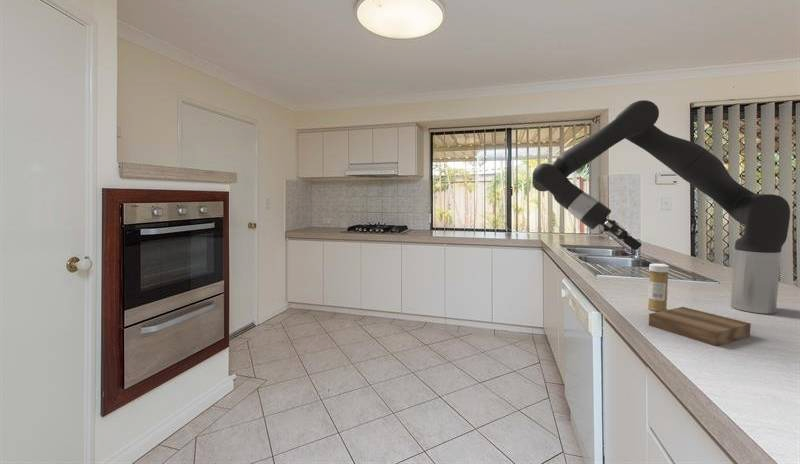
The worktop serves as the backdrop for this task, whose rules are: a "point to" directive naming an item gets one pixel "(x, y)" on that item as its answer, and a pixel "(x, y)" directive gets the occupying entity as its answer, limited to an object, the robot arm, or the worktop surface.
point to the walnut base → (700, 325)
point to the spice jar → (658, 287)
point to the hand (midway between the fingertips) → (638, 247)
